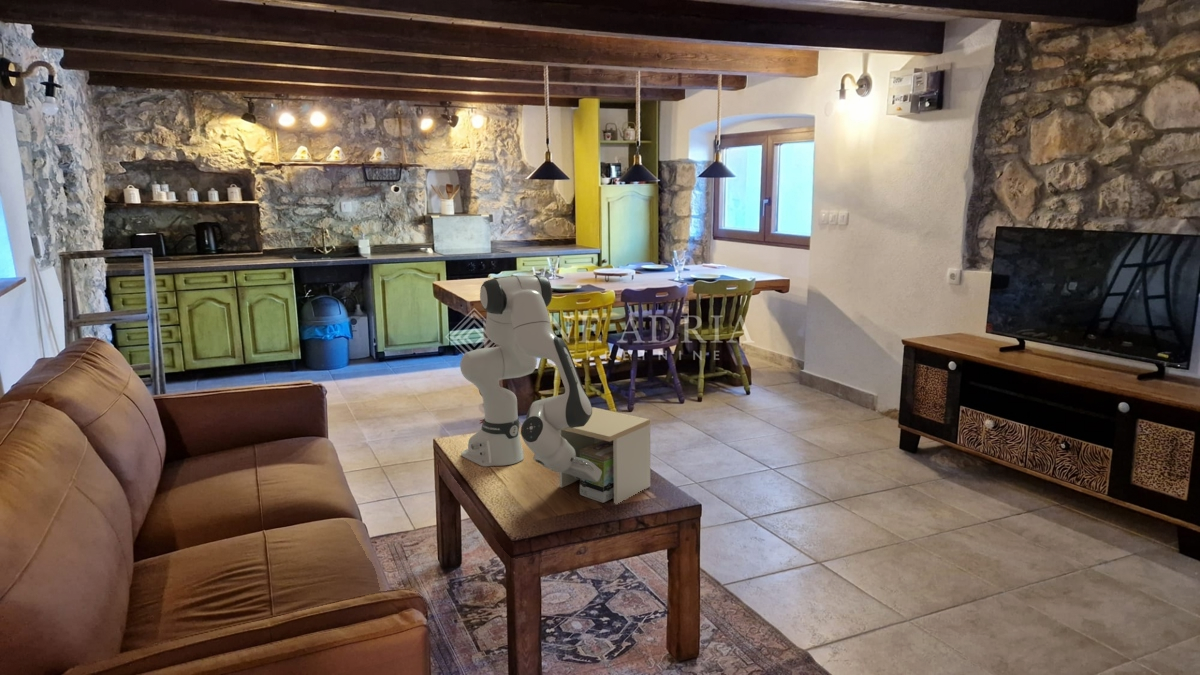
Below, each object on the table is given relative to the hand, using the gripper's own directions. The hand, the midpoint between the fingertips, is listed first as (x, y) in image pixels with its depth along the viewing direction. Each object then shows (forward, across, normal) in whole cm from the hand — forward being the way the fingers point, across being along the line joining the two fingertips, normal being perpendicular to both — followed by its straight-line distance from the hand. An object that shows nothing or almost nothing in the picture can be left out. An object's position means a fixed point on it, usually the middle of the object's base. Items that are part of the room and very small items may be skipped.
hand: (581, 477), depth 225 cm
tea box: (+10, -4, -1) cm, 11 cm away
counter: (+11, 0, -2) cm, 11 cm away
